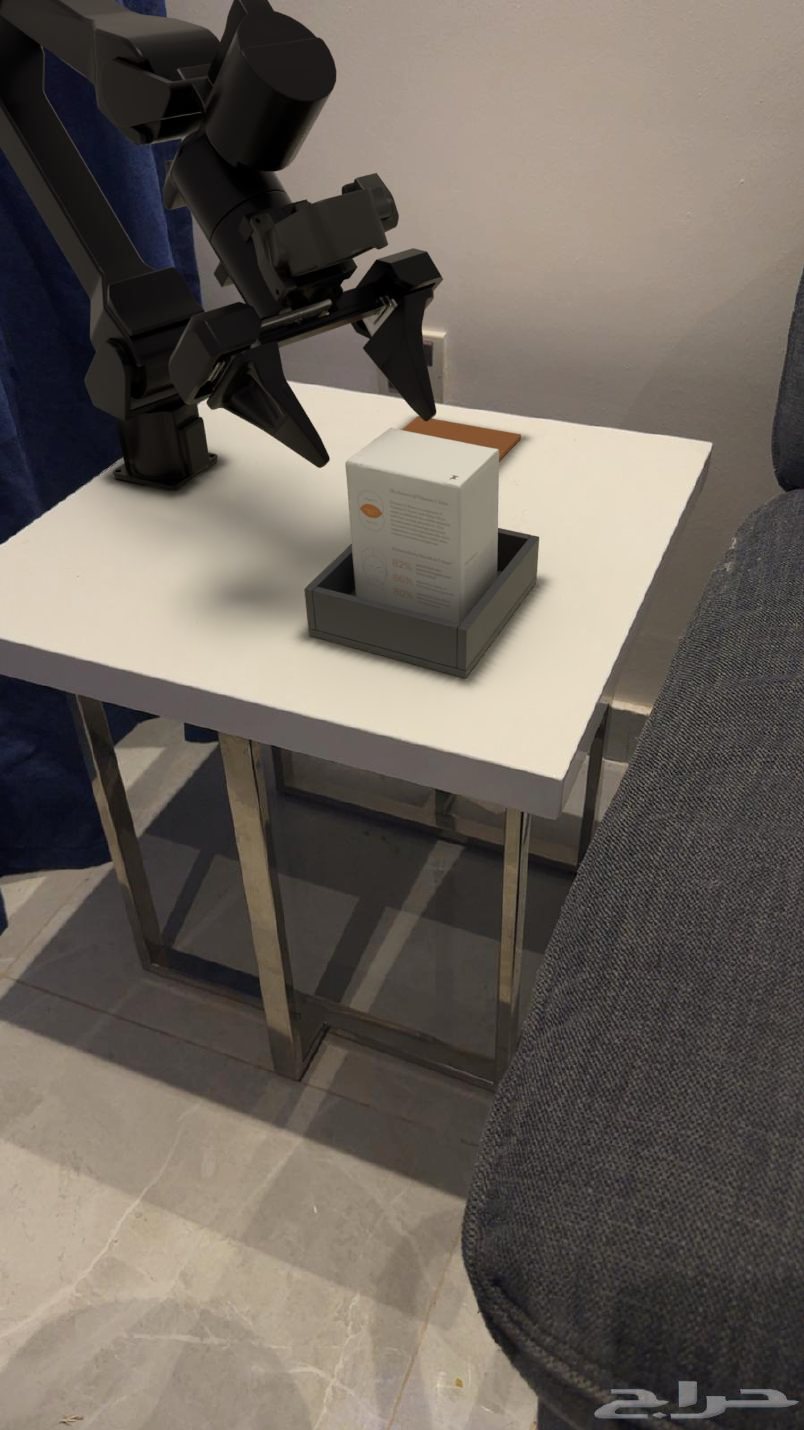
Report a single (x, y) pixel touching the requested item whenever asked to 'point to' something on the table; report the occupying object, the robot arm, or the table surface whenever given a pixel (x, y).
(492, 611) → the bin
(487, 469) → the small box
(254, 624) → the table surface
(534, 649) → the table surface
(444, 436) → the mat
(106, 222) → the robot arm
